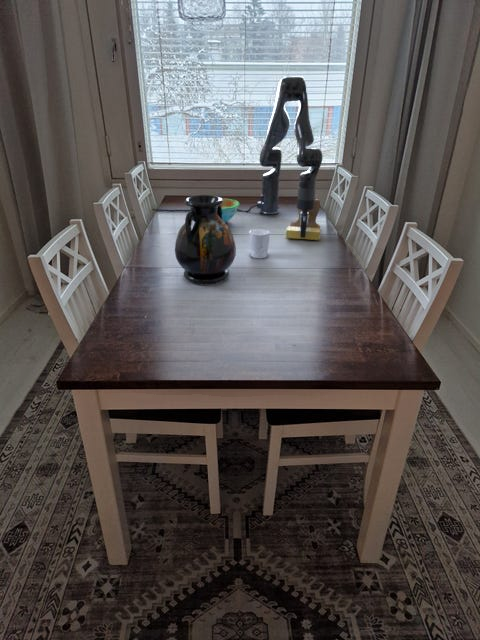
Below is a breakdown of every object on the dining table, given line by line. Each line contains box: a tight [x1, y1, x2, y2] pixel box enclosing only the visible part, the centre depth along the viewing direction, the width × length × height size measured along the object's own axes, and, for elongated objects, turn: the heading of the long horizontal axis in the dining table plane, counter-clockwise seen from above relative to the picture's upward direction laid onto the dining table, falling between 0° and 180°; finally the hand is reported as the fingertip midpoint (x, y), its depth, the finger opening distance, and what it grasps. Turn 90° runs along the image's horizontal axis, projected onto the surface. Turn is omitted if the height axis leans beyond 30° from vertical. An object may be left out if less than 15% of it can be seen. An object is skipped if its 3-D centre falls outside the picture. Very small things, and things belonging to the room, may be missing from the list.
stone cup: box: [289, 198, 321, 229], centre depth 198 cm, size 15×12×15 cm
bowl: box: [220, 197, 240, 224], centre depth 207 cm, size 22×22×10 cm
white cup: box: [249, 228, 271, 259], centre depth 166 cm, size 8×8×10 cm
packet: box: [285, 225, 321, 241], centre depth 187 cm, size 15×6×4 cm, turn 80°
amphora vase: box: [174, 194, 237, 286], centre depth 143 cm, size 22×22×28 cm
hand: (303, 234), depth 187 cm, fingers closed on packet, 6 cm apart
